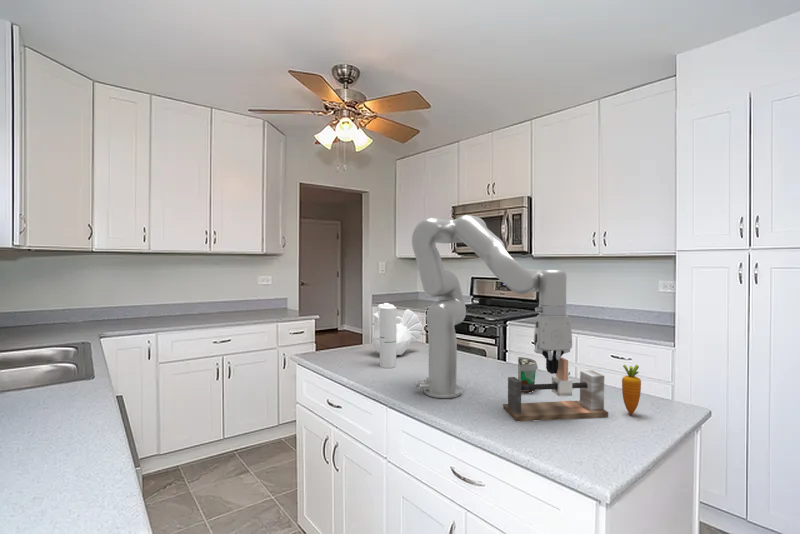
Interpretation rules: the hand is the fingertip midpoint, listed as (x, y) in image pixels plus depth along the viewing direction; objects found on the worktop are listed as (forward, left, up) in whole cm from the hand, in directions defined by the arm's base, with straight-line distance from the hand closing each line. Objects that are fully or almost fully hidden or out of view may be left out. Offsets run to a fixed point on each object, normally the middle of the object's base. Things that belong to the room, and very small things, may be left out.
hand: (552, 372), depth 123 cm
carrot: (+23, -4, -13) cm, 26 cm away
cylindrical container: (-43, +59, -13) cm, 74 cm away
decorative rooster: (-36, +79, -13) cm, 88 cm away
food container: (+3, +22, -13) cm, 25 cm away
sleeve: (+3, 0, -7) cm, 7 cm away
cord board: (+1, 0, -12) cm, 12 cm away
